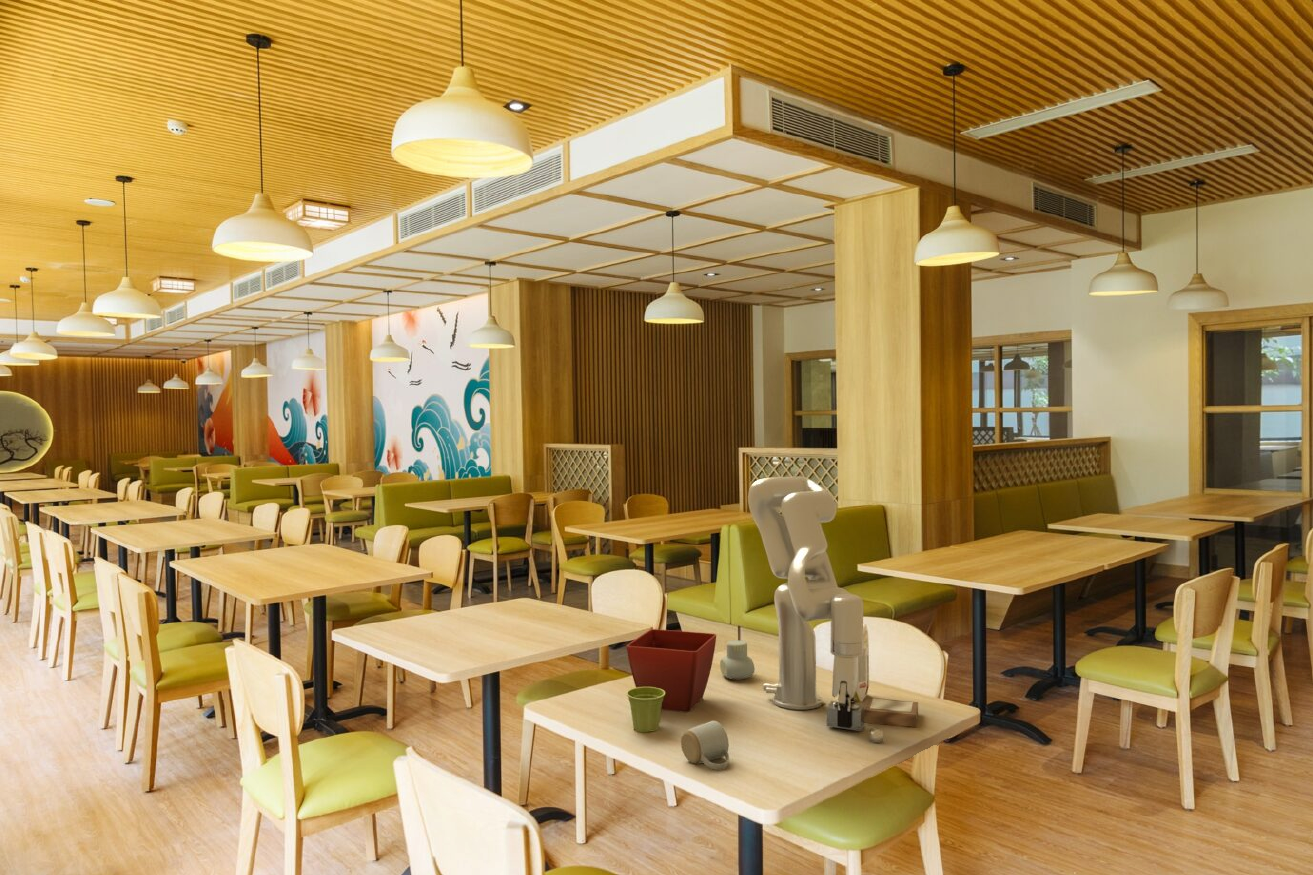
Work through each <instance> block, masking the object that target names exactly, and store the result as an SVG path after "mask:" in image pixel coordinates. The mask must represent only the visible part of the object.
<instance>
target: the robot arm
mask: <svg viewBox="0 0 1313 875" xmlns="http://www.w3.org/2000/svg"><path fill="white" fill-rule="evenodd" d="M747 493H748V494H747V495H748V496H747V500H748V501H747V502H748V507H749V511H750V515H751V517H752V519H753V521H754V523H755V524H756V527H757V528H758V531H759V534H760V536H761V540H762V544H763V546H764V549H765V553H766V558H767V560H768V564H769V567H770V570H771V572H772V574H773V575H774V576H775V577H776V578H778V579H785V580H786V579H787V582H784V583H782V584H781V585H778V587H776V590H775V592H774V594H773V597H774V607H775V612H776V617H777V626H778V627H777V628H778V662H779V663H778V664H779V665H778V668H779V669H778V671H779V672H778V674H779V676H778V678H779V682H778V683H775V684H772V683H763V688H762V689H763V691H764V692H766V693H767V694H774V696H773V703H774V704H776V706H778V707H781V708H784V709H789V710H798V711H799V710H802V711H803V710H813V709H818V708H820V707H821V706H823V705H822V704H823V702H824V701H823V697H822V696H821V695H819V694H818V693H817V645H816V644H817V643H816V641H817V640H816V634H815V630H814V628H813V627H812V625H811V624H810V622H815V621H816V622H817V621H825V620H830V653H831V655H833V668H832V686H831V687H832V690H831V691H832V693H831V696H832V698H836V697H838V700H837V702H838V712H837V725H838V727H845V728H851V726H852V711H850V707H851V704H856V701H854V695H855V692H856V689H857V680H858V657H860V656H862V655H863V624H864V601H863V598H862V597H860V596H859V595H857V594H854V593H850V592H848V590H846V589H844V588H842V587H839V586H838V584H837V580H836V578H835V573H834V570H833V568H832V564H831V562H830V558H829V555H828V553H827V551H826V550H827V549H828V541H827V539H826V536H825V533H824V530H823V527H822V523H825V524H826V523H830V522H831V521H833V520H834V519H835V517H836V515H837V506H836V505H837V504H836V501H835V499H834V497H833V496H832V495H831V493H830V492H829V491H828V490H826V488H824V487H823V486H821V485H820V484H818V483H816V482H814V480H812V479H810V478H809V477H806V476H805V477H804V476H797V475H796V476H773V477H764V478H760V479H757V480H755V481H754V482H753V483H751V485H750V487H749V489H748V492H747ZM778 509H781V513H782V514H781V513H780V512H779V511H778ZM806 578H807V579H806ZM838 693H839V696H838ZM847 703H848V704H847Z"/></svg>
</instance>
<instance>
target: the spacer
mask: <svg viewBox="0 0 1313 875" xmlns="http://www.w3.org/2000/svg"><path fill="white" fill-rule="evenodd" d="M869 742H870V743H872V744H876V745H881V744H883V743H884V730H883V729H881V728H876V727H875V728H870V729H869Z"/></svg>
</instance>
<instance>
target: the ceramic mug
mask: <svg viewBox="0 0 1313 875" xmlns="http://www.w3.org/2000/svg"><path fill="white" fill-rule="evenodd" d="M680 744H681V745H680V746H681V751H682V753H683V755H684V757H685V759H686V760H687V761H689V762H690V763H691V764H701V763H703V764H704V765H705V766H707V767H708V768H709V769H711V770H715V771H721V770H724V769H726V768H727V767H728V766H729V762H730V753H729V752H728V751H729V746H730V744H729V737H728V734H727V731H726V729H725V728H724V727H723V725H722V724H721V723H720V722H719V721H717V720H709V721H708V722H706V723H705V722H704V723H703V724H699V725H698V726H697V725H696V726H694V727H690V728H689V729H688V730H685V731H684V732H683V734H682V736H681V739H680ZM723 757H724V758H725V762H723V763H714V762H712V761H714V760H716V759H721V758H723Z"/></svg>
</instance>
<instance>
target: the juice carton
mask: <svg viewBox="0 0 1313 875" xmlns="http://www.w3.org/2000/svg"><path fill="white" fill-rule="evenodd" d="M869 644H870V642H869V630H868V628H867V624H864V623H863V655H862V656H860V657H858V680H857V689H856V692H855V695H854V702H861V703H862V702H863V701H864V699H865V698H866V696H867V695H868V693H869V687H870V666H869V664H870V657H869V656H870V654H869V649H870V648H869ZM837 697H839V693H838V695H837Z"/></svg>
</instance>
